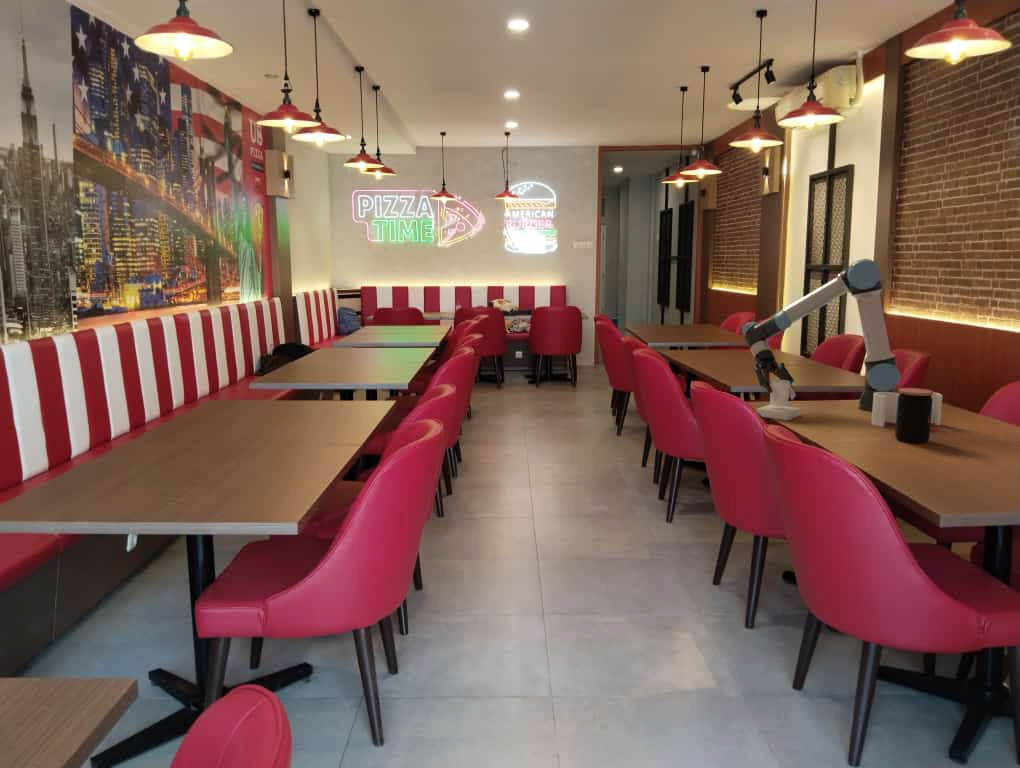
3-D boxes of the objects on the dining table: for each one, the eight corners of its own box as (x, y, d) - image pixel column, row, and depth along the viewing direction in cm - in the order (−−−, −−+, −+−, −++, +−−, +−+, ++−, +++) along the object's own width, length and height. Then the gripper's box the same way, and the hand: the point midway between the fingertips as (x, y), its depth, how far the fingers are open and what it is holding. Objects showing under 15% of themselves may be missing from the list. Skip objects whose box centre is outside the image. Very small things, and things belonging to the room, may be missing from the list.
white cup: (790, 407, 302) (791, 382, 301) (770, 406, 304) (771, 382, 302) (787, 403, 310) (788, 379, 308) (767, 403, 312) (768, 379, 310)
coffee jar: (933, 444, 258) (938, 393, 255) (901, 443, 259) (904, 392, 256) (922, 437, 268) (926, 388, 265) (890, 436, 270) (894, 387, 267)
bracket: (929, 421, 295) (931, 391, 293) (943, 426, 285) (946, 395, 283) (866, 421, 295) (868, 391, 293) (878, 427, 285) (881, 396, 283)
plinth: (800, 415, 308) (800, 408, 307) (787, 420, 298) (787, 413, 298) (770, 411, 317) (770, 404, 316) (756, 415, 307) (756, 408, 307)
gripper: (779, 358, 321) (801, 401, 309) (737, 360, 316) (758, 404, 303) (787, 347, 316) (810, 391, 303) (745, 349, 310) (767, 394, 297)
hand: (784, 397), depth 303 cm, fingers closed on white cup, 8 cm apart
